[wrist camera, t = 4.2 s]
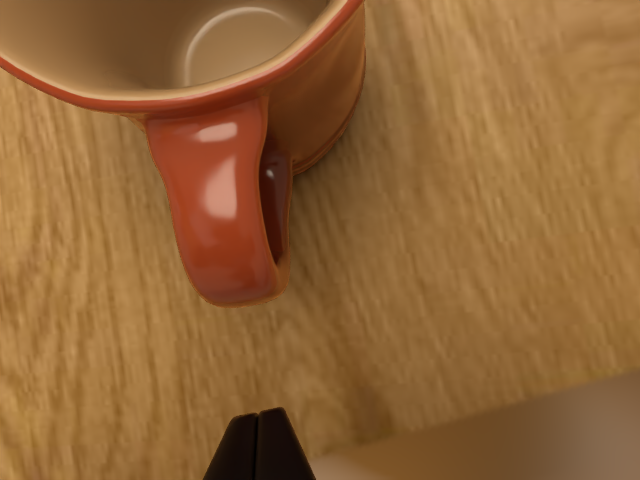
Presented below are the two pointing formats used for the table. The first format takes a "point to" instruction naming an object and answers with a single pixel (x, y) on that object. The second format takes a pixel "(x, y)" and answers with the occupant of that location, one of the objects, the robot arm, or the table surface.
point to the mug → (207, 109)
